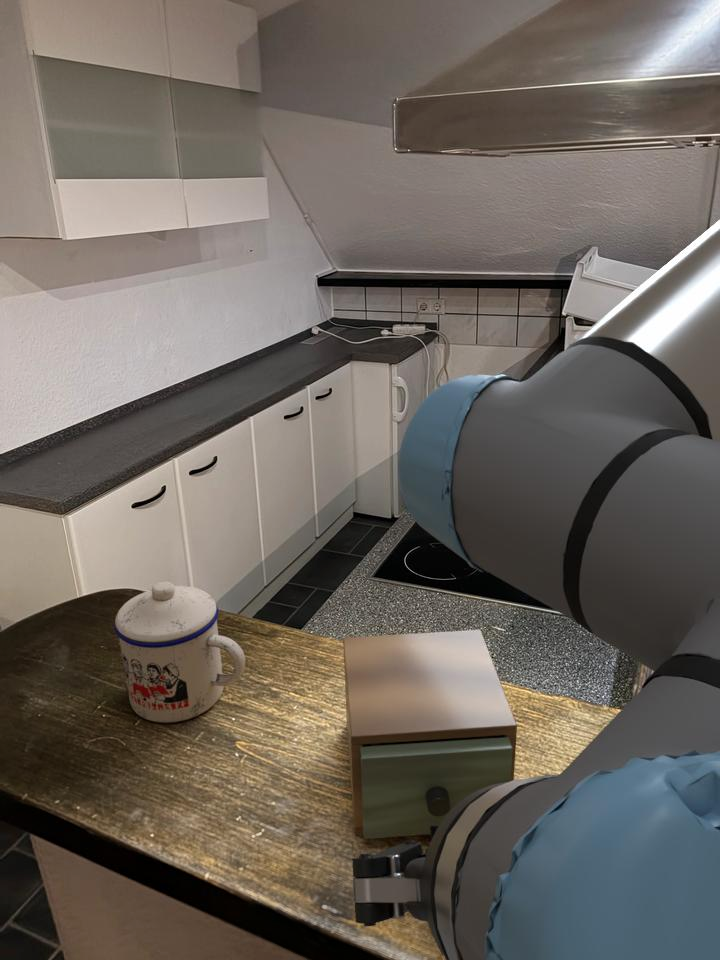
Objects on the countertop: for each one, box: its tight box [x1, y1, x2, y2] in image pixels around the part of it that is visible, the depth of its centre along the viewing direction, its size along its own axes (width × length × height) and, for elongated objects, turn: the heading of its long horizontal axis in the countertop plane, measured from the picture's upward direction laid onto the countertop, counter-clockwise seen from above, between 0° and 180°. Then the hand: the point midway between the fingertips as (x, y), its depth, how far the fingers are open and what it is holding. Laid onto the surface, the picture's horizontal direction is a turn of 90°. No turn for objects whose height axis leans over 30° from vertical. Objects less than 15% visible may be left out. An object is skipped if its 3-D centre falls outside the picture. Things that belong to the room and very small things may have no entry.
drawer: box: [360, 736, 512, 840], centre depth 58 cm, size 12×10×7 cm
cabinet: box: [342, 629, 518, 837], centre depth 60 cm, size 12×12×9 cm
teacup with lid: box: [113, 580, 246, 724], centre depth 69 cm, size 12×9×12 cm
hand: (450, 855), depth 47 cm, fingers closed
